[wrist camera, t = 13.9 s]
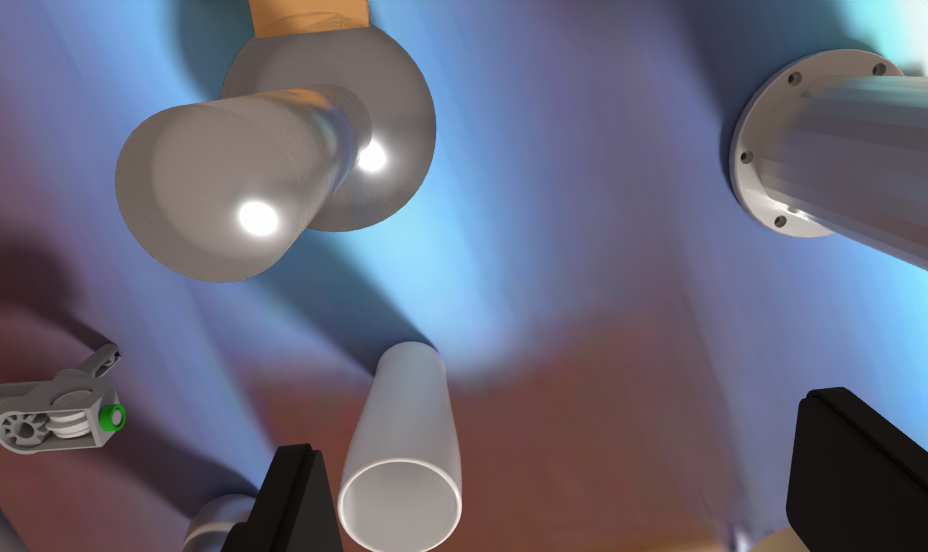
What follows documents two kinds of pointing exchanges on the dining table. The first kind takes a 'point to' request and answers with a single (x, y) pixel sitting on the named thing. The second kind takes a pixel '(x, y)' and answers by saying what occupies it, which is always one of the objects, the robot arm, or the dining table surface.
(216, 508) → the plastic bottle
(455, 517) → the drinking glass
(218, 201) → the post
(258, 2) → the bracket head
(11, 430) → the mechanical component
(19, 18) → the dining table surface
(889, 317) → the dining table surface
